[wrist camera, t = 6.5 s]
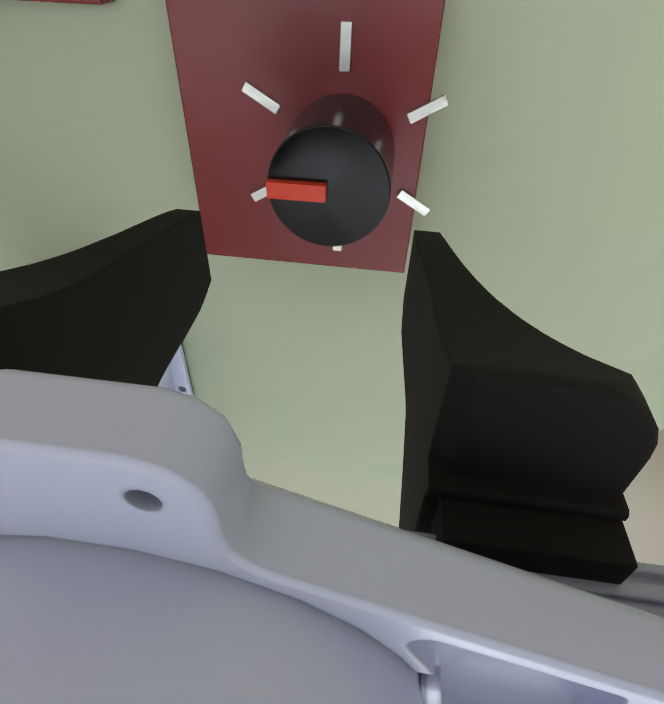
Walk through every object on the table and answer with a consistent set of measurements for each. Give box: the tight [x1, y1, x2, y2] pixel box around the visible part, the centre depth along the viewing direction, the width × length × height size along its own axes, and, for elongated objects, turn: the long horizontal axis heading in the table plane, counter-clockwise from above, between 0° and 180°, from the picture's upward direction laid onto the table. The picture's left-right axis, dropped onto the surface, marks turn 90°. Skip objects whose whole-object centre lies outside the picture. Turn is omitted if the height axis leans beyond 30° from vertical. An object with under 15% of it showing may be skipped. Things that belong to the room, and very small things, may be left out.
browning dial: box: [266, 94, 395, 247], centre depth 17 cm, size 4×4×4 cm
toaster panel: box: [166, 0, 449, 273], centre depth 19 cm, size 10×10×3 cm
